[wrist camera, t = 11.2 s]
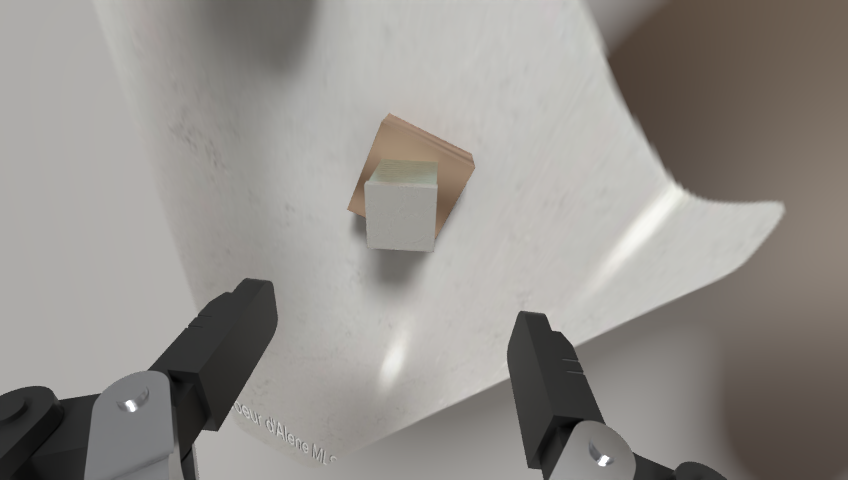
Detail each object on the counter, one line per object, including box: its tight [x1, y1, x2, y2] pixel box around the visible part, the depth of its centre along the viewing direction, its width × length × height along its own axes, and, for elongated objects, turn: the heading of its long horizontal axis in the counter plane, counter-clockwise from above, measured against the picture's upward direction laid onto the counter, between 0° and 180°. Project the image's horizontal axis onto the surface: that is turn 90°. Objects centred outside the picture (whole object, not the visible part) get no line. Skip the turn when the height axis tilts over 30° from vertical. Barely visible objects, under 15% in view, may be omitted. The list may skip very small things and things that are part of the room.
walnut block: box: [347, 113, 475, 239], centre depth 34 cm, size 9×9×5 cm
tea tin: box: [364, 159, 438, 252], centre depth 29 cm, size 5×5×7 cm
